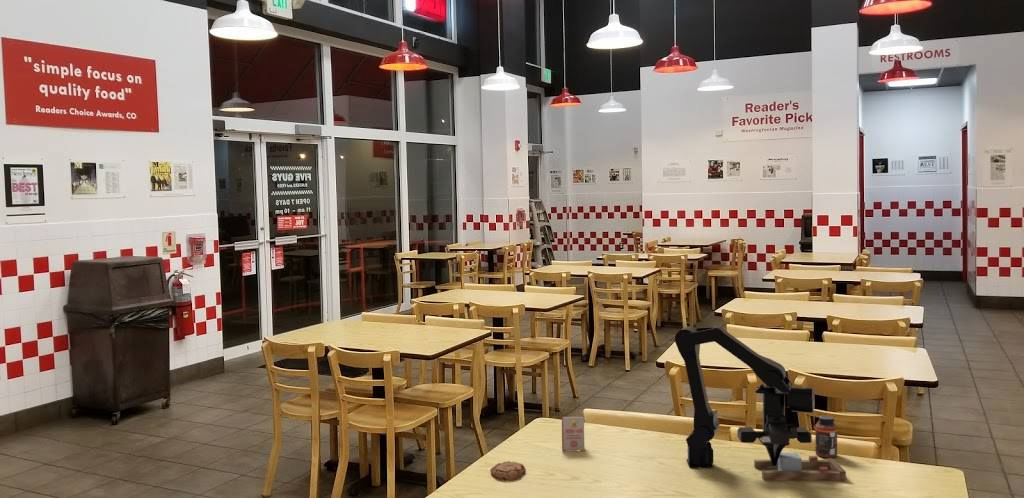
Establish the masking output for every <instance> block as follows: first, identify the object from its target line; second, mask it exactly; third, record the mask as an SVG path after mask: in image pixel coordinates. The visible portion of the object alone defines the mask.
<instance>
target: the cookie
mask: <svg viewBox="0 0 1024 498" xmlns="http://www.w3.org/2000/svg"><path fill="white" fill-rule="evenodd" d="M489 471H490V474H491V475H492V478H493V479H495V480H500V481H506V482H508V481H509V482H510V481H513V480H514V481H515V480H517V479H519V478H521V477H522V475H523V474H524V473H527V469H526V467H525V466H524V464H523V463H519V462H515V461H509V460H507V461H504V462H499V463H497V464H495V465H494V466H493V467H491V468H490V470H489Z"/></svg>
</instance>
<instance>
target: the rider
mask: <svg viewBox="0 0 1024 498" xmlns="http://www.w3.org/2000/svg"><path fill="white" fill-rule="evenodd" d="M802 460H803V459H802V458H801V455H799V454H798V453H797V452H781V454H780V456H779V459H778V469H777V471H802V469H801V461H802Z"/></svg>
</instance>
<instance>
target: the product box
mask: <svg viewBox="0 0 1024 498" xmlns="http://www.w3.org/2000/svg"><path fill="white" fill-rule="evenodd" d="M562 450H584V451H585V417H584V416H561V451H562Z"/></svg>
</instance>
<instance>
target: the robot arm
mask: <svg viewBox="0 0 1024 498" xmlns="http://www.w3.org/2000/svg"><path fill="white" fill-rule="evenodd" d="M674 335H675V336H674V342H675V345H676V348H677V351H678V352H679V354H680V357H681V358H682V360H683V362H684V365H685V370H686V375H687V380H688V384H689V385H688V386H689V389H690V395H691V400H692V404H693V405H692V406H693V409H694V410H693V411H694V412H693V430H692V431H691V432H690V433H689V435H688V436H687V437H686V438H685V441H686V444H687V459H686V462H687V465H688V467H689V468H691V469H692V468H693V469H694V468H695V469H696V468H697V469H698V468H701V469H704V468H706V469H711V468H714V466H713V464H714V449H713V447H712V443H711V442H710V441H712V440H713V438H714V437H715V435H717V433H718V432H719V426H720V425H721V422H720V421H719V417H718V416H719V415H718V414H719V413H718V410H713V409H712V408H711V406H710V403H709V398H708V393H707V389H706V388H707V387H706V384H705V380H704V375H703V370H702V369H703V368H702V364H701V360H700V349H701V345H702V344H708V343H716V344H718V345H719V346H720V347H722V349H725V350H726V351H727V352H729V354H731V355H733V356H734V357H736V358H737V359H738V360H740V361H741V362H742V363H743V364H745V365H747V366H748V367H749V368H750V369H751V370H752V372H753V373H754V374H755V375H756V377H757V378H759V380H761V384H760V386H758V387H757V388H756V389H755V394H762V430H755V429H754V428H753V427H751V426H745V427H744V426H742V427H738V429H737V435H736V436H737V438H738V440H739V441H740V442H741V443H745V444H747V443H748V444H749V443H750V444H751V443H755V442H756V441H757V439H758V441H759V442H760V444H761V445H763V446H764V447H765V449H766V450H767V451H766V452H767V454H768V456H769V460H771V463H772V465H773V466H776V464H777V461H778V459H779V456H780V454H781V453H783V452H782V451H783V450H784V448H785V447H786V446H790V440H793V439H796V440H797V441H798V442H799V443H800V444H806V443H807V444H810V443H812V437H813V436H812V433H811V432H810V431H809V430H808V429H807V428H806V427H803V426H802V427H797V425H796V424H788V423H787V418H786V408H788V410H791V412H794V413H795V412H796V413H804V414H805V413H807V414H814V412H815V397H814V388H813V387H811V386H805V387H802V386H801V387H800V386H794V384H793V382H791V380H790V379H789V378H788V376H787V375H786V374H787V373H786V369H785V367H784V366H783V365H782V364H781V363H779V362H778V361H775V360H773V359H771V358H769V357H766V356H763V355H761V354H759V353H757V352H756V351H755V350H753V349H752V348H751V347H749V346H747V345H746V344H745V343H744V342H742V341H741V340H739V339H738V338H736V337H735V336H734V335H732V334H731V333H730V332H728V331H727V330H725V329H724V327H723V326H720V325H715V326H710V327H709V326H705V327H697V328H696V327H694V326H691V325H690V326H689V325H688V326H684V327H682V328H681V329H680V330H678V331H677V333H675V334H674Z"/></svg>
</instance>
